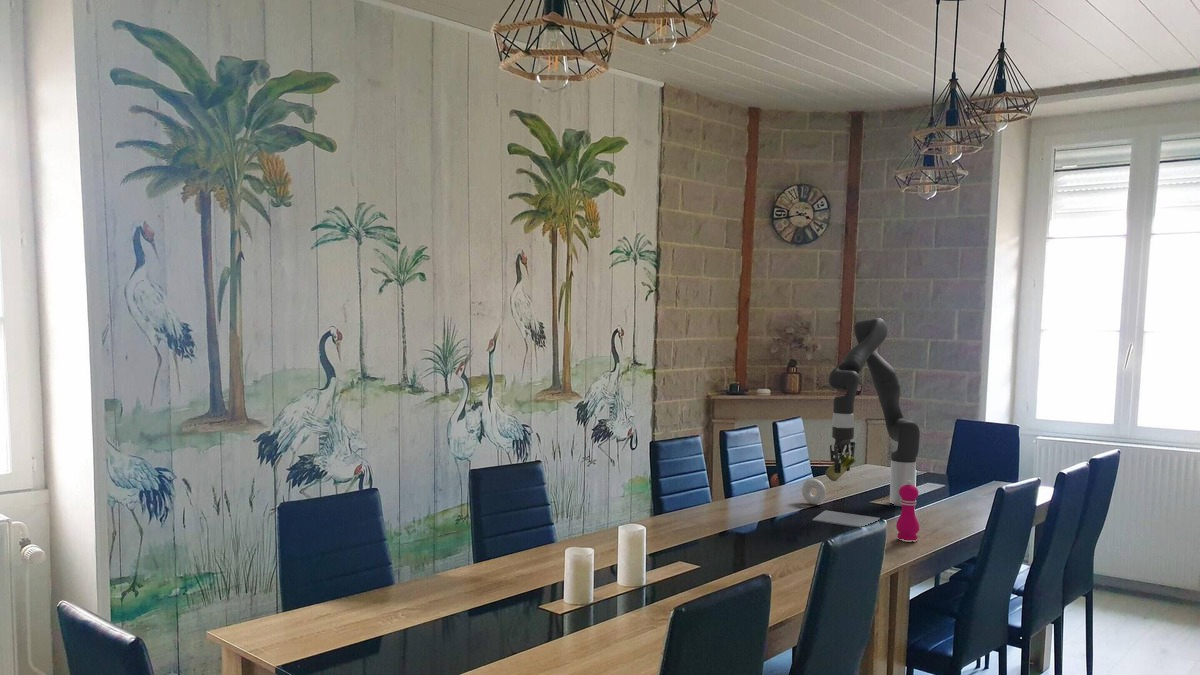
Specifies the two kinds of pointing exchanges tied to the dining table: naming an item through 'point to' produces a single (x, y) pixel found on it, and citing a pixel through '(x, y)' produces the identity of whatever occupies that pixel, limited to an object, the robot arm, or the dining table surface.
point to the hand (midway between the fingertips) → (842, 471)
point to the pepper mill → (908, 513)
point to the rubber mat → (844, 519)
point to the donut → (820, 491)
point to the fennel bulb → (844, 465)
